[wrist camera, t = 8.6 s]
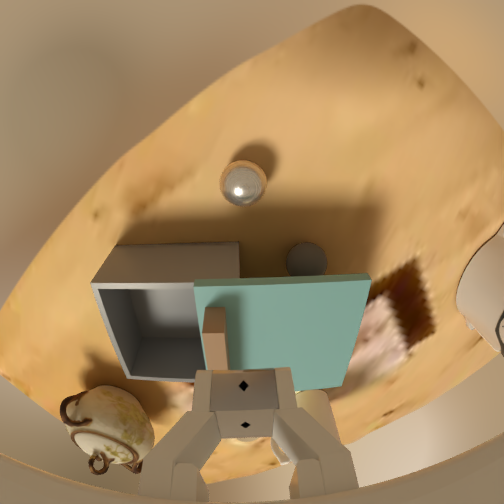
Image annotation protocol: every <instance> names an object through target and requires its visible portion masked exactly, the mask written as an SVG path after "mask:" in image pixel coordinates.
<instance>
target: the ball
mask: <svg viewBox="0 0 504 504" xmlns="http://www.w3.org/2000/svg"><path fill="white" fill-rule="evenodd" d="M286 266H287V270H288V273H289V274H290V276H291V277H295V276H319V275H324V273H325V271H326V268H327V258H326V255H325V253H324V251H323V250H322V249H321V248H320V247H319V246H317V245H316V244H313V243H308V242H305V243H300V244H298V245H296V246H295V247H293V248H292V249H291V251H290V252H289V254H288V256H287V260H286Z"/></svg>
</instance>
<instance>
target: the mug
mask: <svg viewBox="0 0 504 504" xmlns="http://www.w3.org/2000/svg"><path fill="white" fill-rule="evenodd" d="M295 396H296V401H297V407H302V408H303V409H304V410H306V411H307V412H308V413H309V414H310V415H311V416H312V417H313V418H314V419H315V420H316V421H317V422H318V423H319V424H320V425H321V426H323V427H324V428H325V429H326V430H327V431H328V432H329V433H330V434H331V435H332V436H333V437H335V438H336V439H337V440H338V441H339V442H340V443H341V441H340V437H339V434H338V430H337V427H336V423H335V419H334V416H333V412H332V408H331V405H330V402H329V399H328V395H327V393H326V392H324V391H322V390H319V389H314V390H305V391H302V392H299V393H297V394H296V395H295ZM271 448H272V451H273V453H274V454H275V456H276V457H277V459H278V460H279V462H280V464H281V465H285V464H289V463H290V462H291V460H290V459H289V457H288V456H287V455H286V454H285V453H283V452H282V451H281V450H280V449H279V447H278V444H277V443H276V442H275V440H274V439H273V438H272V437H271Z"/></svg>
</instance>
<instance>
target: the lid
mask: <svg viewBox="0 0 504 504" xmlns="http://www.w3.org/2000/svg"><path fill="white" fill-rule="evenodd" d="M371 281H372V279H371V278H370V276H369V275H368V273H361V274H341V275H319V276H295V277H267V278H232V279H195V281H194V286H193V287H194V295H195V302H196V309H197V316H198V323H199V329H200V336H201V342H202V348H203V354H204V360H205V366H206V370H244V369H261V368H280V367H290V369H291V373H292V379H293V384H294V390H295V391H304V390H314V389H323V388H332V387H339V386H342V383H343V380H344V377H345V374H346V371H347V368H348V365H349V362H350V359H351V355H352V352H353V349H354V345H355V342H356V339H357V335H358V332H359V328H360V324H361V321H362V317H363V313H364V309H365V306H366V302H367V298H368V294H369V289H370V285H371Z"/></svg>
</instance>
